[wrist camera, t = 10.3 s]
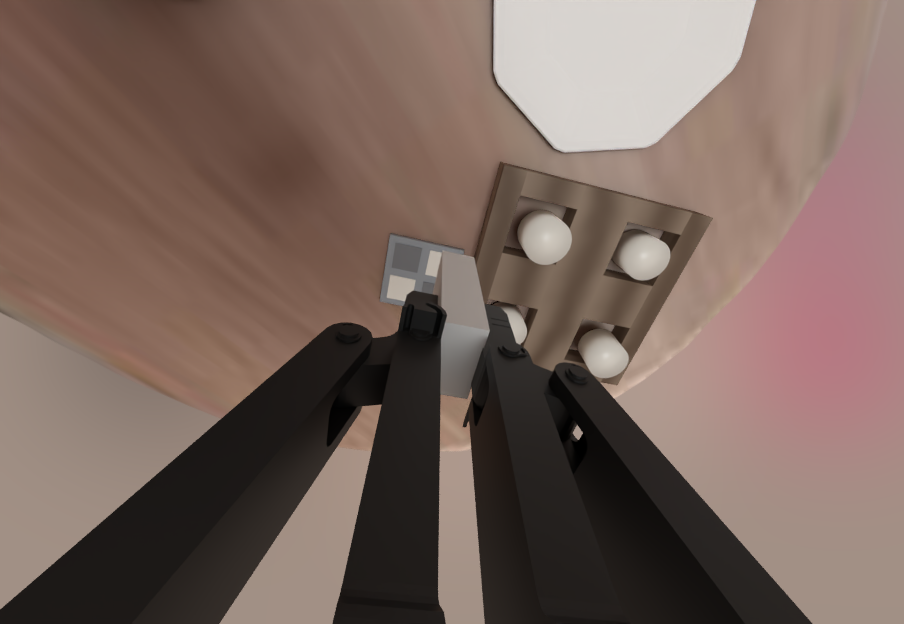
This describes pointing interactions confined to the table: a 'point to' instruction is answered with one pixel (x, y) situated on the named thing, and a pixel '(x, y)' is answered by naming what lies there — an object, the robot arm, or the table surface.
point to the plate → (613, 64)
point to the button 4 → (641, 255)
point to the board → (580, 264)
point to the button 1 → (514, 320)
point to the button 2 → (544, 237)
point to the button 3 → (602, 353)
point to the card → (411, 267)
